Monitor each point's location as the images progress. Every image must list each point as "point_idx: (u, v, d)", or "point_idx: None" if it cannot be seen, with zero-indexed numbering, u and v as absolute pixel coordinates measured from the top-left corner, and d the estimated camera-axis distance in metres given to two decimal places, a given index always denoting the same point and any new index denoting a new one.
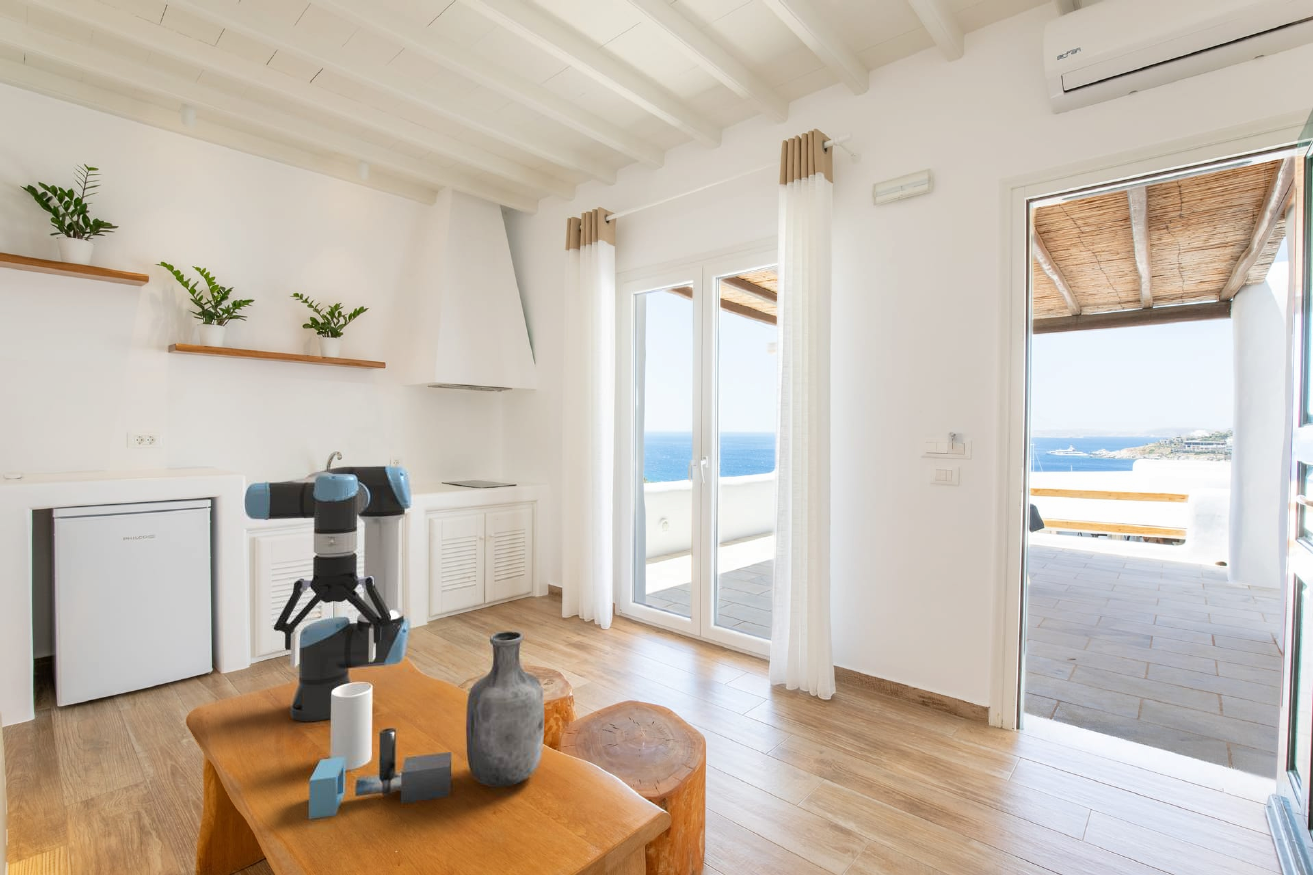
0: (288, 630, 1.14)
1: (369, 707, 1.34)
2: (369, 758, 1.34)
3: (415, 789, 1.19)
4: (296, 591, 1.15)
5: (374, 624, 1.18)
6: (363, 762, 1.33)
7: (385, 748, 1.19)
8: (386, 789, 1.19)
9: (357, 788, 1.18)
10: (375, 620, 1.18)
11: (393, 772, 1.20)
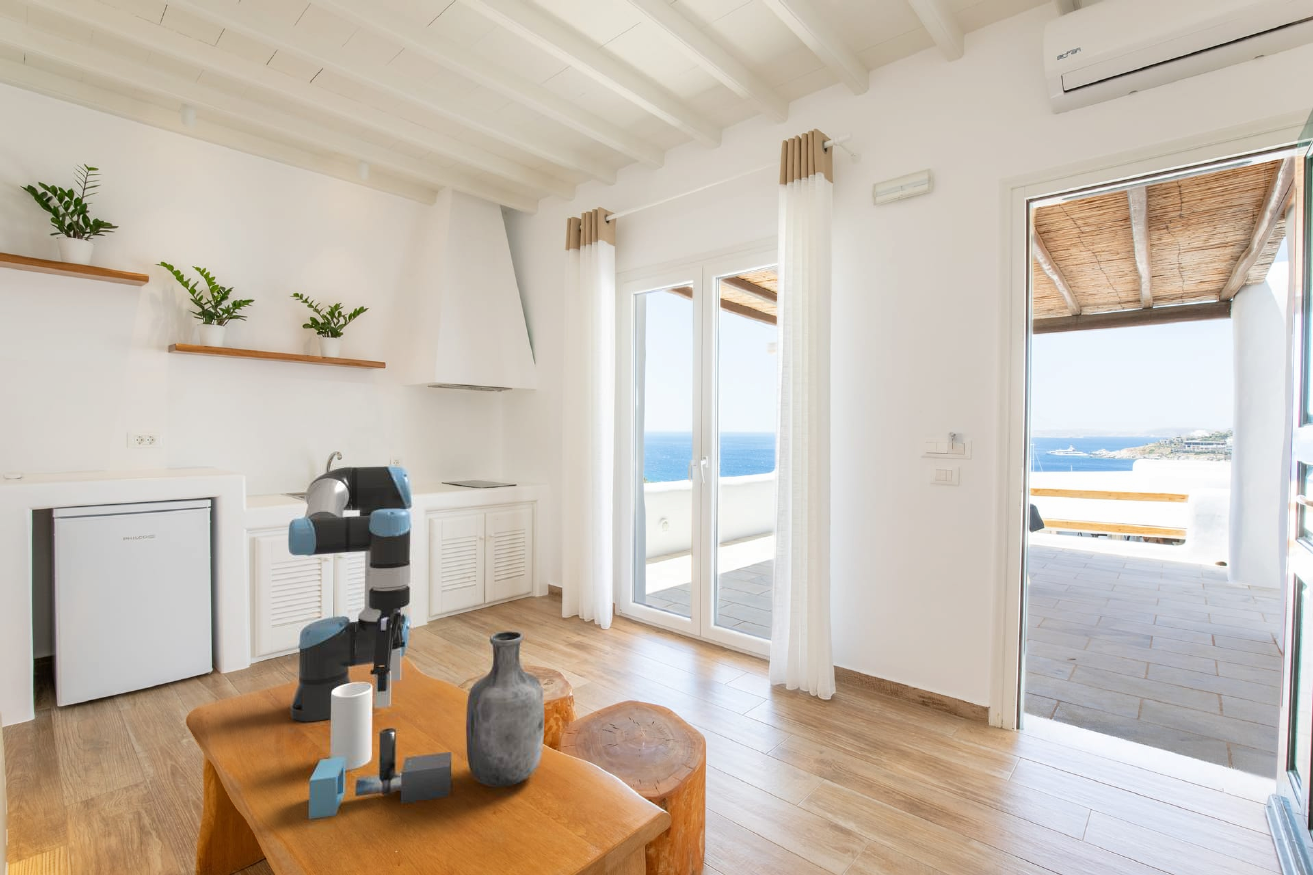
0: None
1: (369, 707, 1.34)
2: (369, 758, 1.34)
3: (415, 789, 1.19)
4: None
5: None
6: (363, 762, 1.33)
7: (385, 748, 1.19)
8: (386, 789, 1.19)
9: (357, 788, 1.18)
10: None
11: (393, 772, 1.20)
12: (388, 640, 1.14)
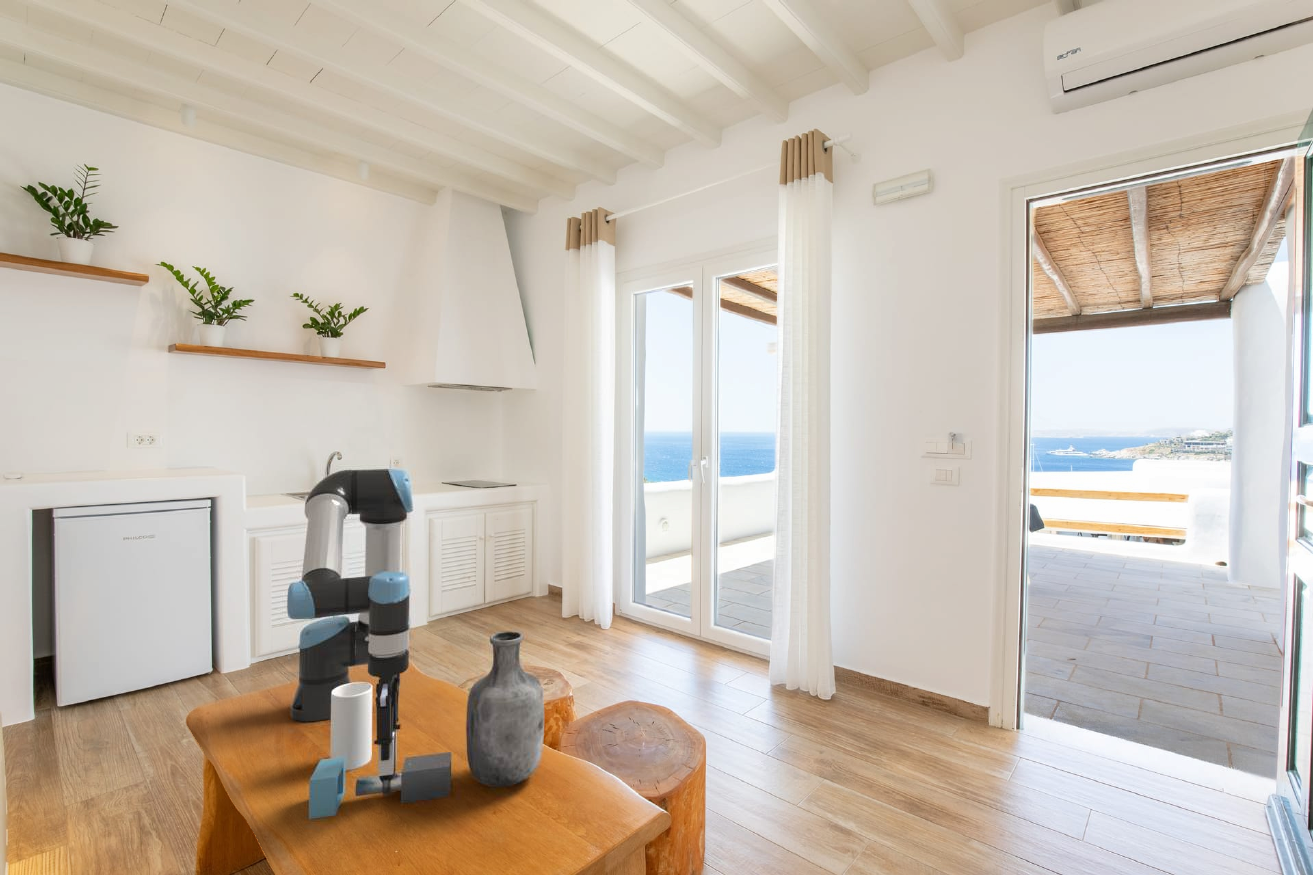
0: None
1: (369, 707, 1.34)
2: (369, 758, 1.34)
3: (415, 789, 1.19)
4: None
5: None
6: (363, 762, 1.33)
7: None
8: (386, 789, 1.19)
9: (357, 788, 1.18)
10: None
11: (393, 772, 1.20)
12: (389, 716, 1.16)
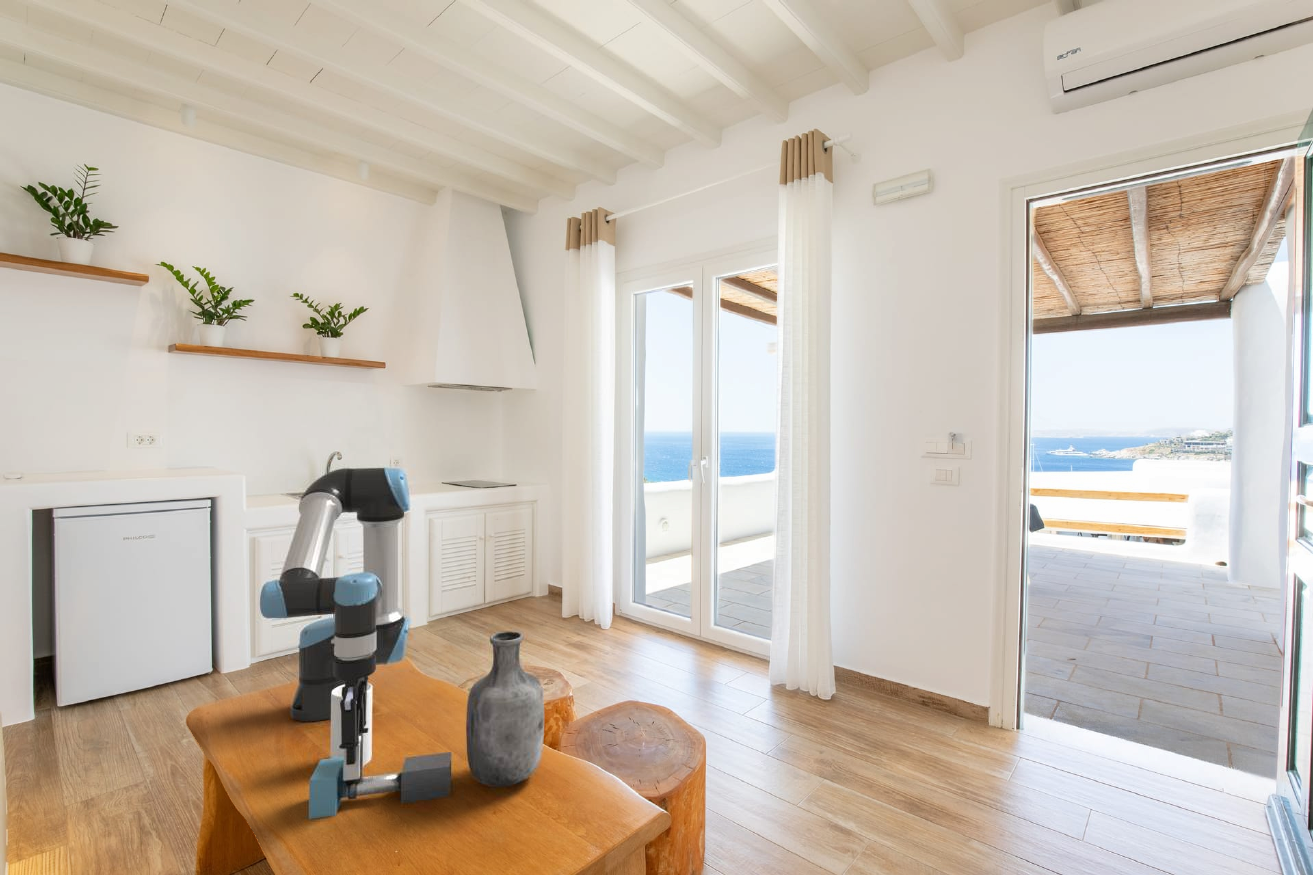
0: None
1: (369, 707, 1.34)
2: (369, 758, 1.34)
3: (415, 789, 1.19)
4: None
5: None
6: None
7: None
8: (352, 794, 1.17)
9: None
10: None
11: None
12: (354, 719, 1.14)
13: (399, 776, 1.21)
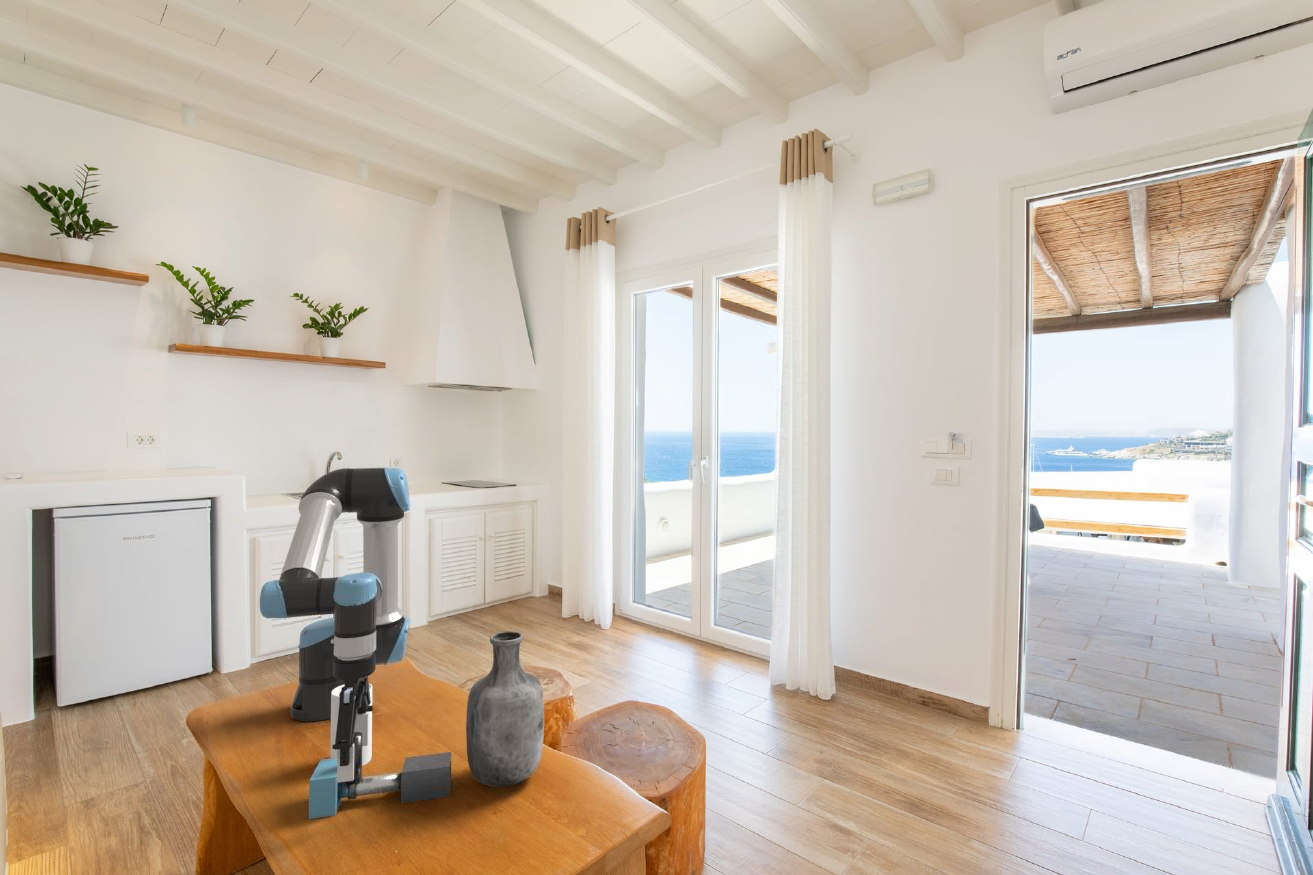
0: None
1: None
2: (369, 758, 1.34)
3: (415, 789, 1.19)
4: None
5: None
6: (363, 762, 1.33)
7: None
8: (352, 794, 1.17)
9: None
10: None
11: (359, 776, 1.19)
12: (351, 713, 1.12)
13: (399, 776, 1.21)
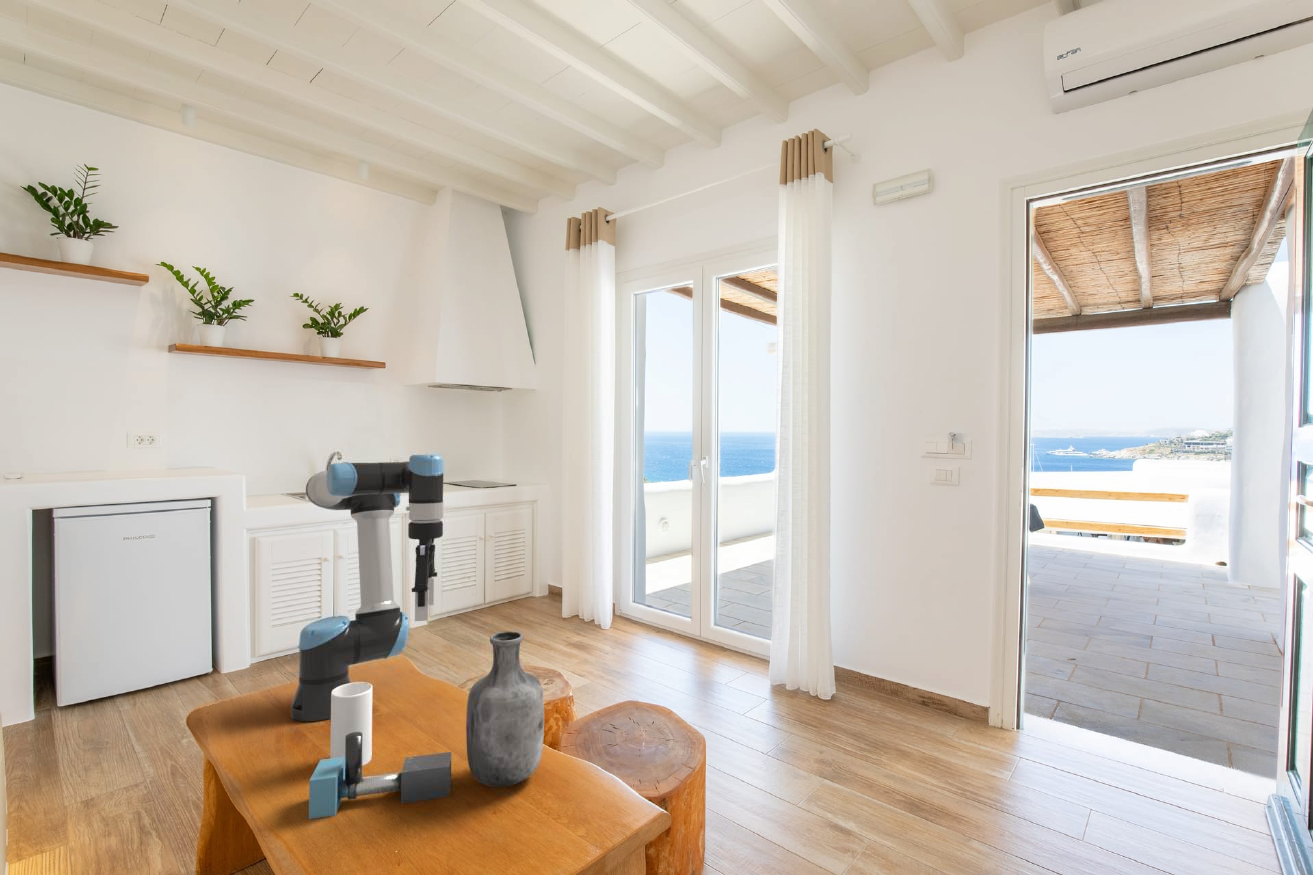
0: None
1: (369, 707, 1.34)
2: (369, 758, 1.34)
3: (415, 789, 1.19)
4: None
5: None
6: (363, 762, 1.33)
7: (350, 752, 1.18)
8: (352, 794, 1.17)
9: None
10: None
11: (359, 776, 1.19)
12: (426, 563, 1.33)
13: (399, 776, 1.21)
